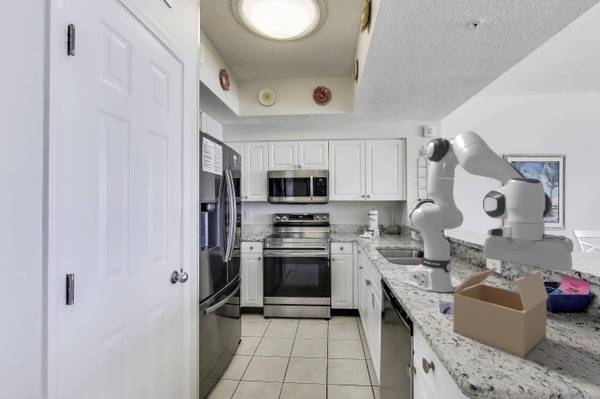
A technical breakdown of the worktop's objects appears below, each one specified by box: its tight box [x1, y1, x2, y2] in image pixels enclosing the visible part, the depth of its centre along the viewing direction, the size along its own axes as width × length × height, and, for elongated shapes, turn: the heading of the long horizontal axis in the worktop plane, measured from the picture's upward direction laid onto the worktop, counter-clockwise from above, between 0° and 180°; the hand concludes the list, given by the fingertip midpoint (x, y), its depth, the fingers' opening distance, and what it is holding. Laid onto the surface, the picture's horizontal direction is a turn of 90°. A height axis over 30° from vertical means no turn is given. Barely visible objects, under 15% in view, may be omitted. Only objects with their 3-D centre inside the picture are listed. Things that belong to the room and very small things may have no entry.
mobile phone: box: [437, 300, 454, 318], centre depth 106 cm, size 8×1×15 cm
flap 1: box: [452, 267, 498, 293], centre depth 91 cm, size 8×19×1 cm
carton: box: [453, 283, 547, 359], centre depth 86 cm, size 18×20×12 cm
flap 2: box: [515, 270, 549, 311], centre depth 79 cm, size 8×19×1 cm
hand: (523, 279), depth 81 cm, fingers closed
